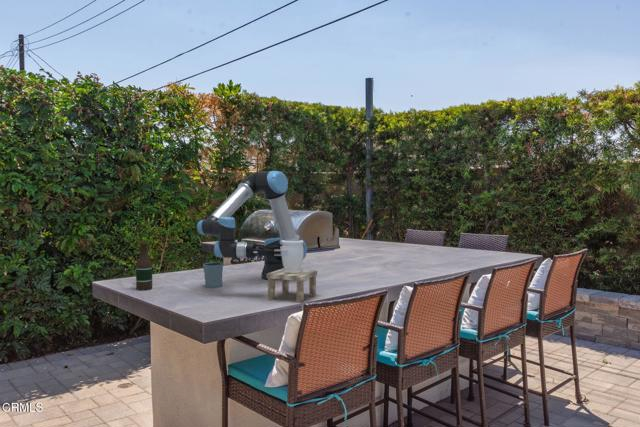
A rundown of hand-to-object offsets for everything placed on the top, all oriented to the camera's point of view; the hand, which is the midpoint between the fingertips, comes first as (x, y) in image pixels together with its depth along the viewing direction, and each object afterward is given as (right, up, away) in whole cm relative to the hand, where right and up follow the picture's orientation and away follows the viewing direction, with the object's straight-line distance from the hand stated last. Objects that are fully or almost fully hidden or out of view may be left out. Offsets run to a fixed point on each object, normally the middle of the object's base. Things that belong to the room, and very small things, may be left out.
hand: (291, 250), depth 229 cm
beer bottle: (-76, -21, +19) cm, 81 cm away
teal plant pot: (-43, -21, +27) cm, 55 cm away
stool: (+1, -22, +1) cm, 22 cm away
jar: (+1, -10, +1) cm, 10 cm away
